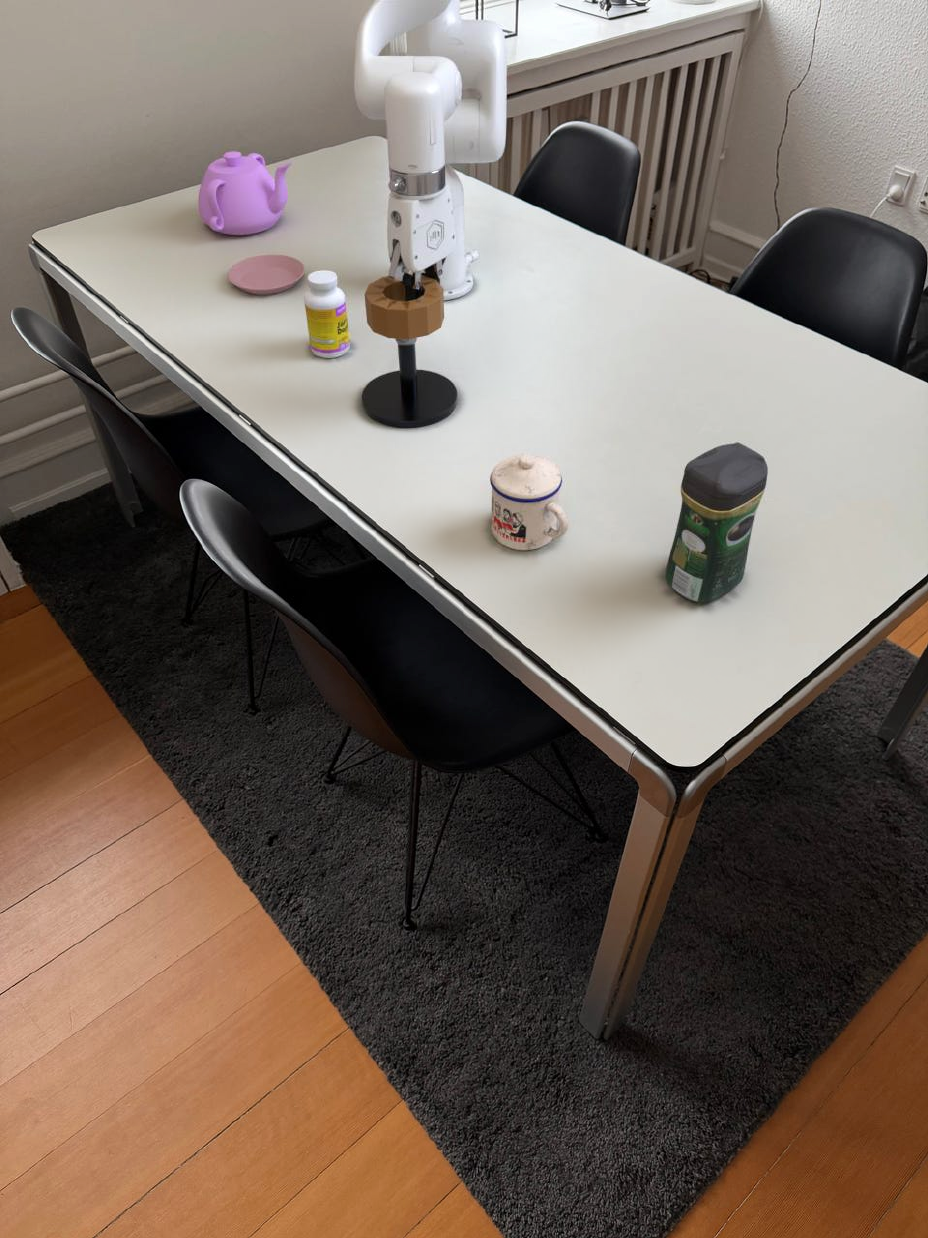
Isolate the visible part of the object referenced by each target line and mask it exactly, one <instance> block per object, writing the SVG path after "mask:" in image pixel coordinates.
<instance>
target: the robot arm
mask: <svg viewBox="0 0 928 1238" xmlns="http://www.w3.org/2000/svg"><path fill="white" fill-rule="evenodd" d="M460 6H461V1H460V0H374V1H373V2H372V3H371V4H370V6H369V7H368V9H367V10H366V12H365V14H364V16H363V18H362V19H361V21H360V24H359V26H358V29H357V33H356V38H355V47H354V50H355V51H354V52H355V53H354V69H353V88H354V89H353V90H354V99H355V103H356V105H357V109H358V110H359V112H360V113H361V114H362V115H363V116H364V117H366V118H368V119H370V120H373V121H374V120H375V121H385V128H386V141H387V142H386V143H387V159H388V172H389V174H388V175H389V182H388V184H387V185H388V186H387V187H388V189H389V191H390V193H389V194H388V195H389V196H388V202H387V203H388V204H387V217H386V218H387V220H386V221H387V222H386V223H387V224H386V228H387V229H386V230H387V231H386V234H387V235H386V240H387V253H388V259H389V262H390V266H389V269H388V274H387V276H388V277H389V278H391V279H394V280H397V281H400V282H401V284H403V285H405V301H406V302H407V301H412V300H416V299H418V298H420V297H421V296H423V295H424V288H423V287H420V286H421V275H423V276H426V277H429V278H432V279H434V280H436V281H437V282H438V283H439V284H440V285H441V287H442V288H443V291H444V301H451V300H454V299H458V298H460V297H463V296H465V295H467V294H468V293H470V291H471V290H472V289H473V287H474V277H473V275H472V273H470V272H469V271H468V268H469V266H471V265H470V264H472V263H474V262H476V261H478V260H479V258H480V255H479V254H480V253H479V252H478V251H477V249H472V250H470V251H468V252H467V253H466V254H465V195H464V194H465V192H464V186H463V183H462V180H461V178H460V176H459V175H458V174H457V172H456V170H455V169H454V168H453V167H452V165H451V164H488V163H489V164H490V163H495V162H497V161H499V160H500V159H501V158H502V156H503V154H504V152H505V148H506V143H507V142H506V140H507V100H508V99H507V98H508V97H507V91H508V90H507V89H508V88H507V87H508V84H507V83H508V79H507V78H508V60H507V58H508V57H507V56H508V55H507V54H508V53H507V43H506V38H505V33H504V31H503V29H502V28H501V26H500V24H498V23H497V22H496V21H493V20H490V19H463V18H462V16H461V10H460V9H461V7H460ZM403 34H406V53H407V54H406V55H380V53H381V52H382V50H383V49H384V48H385V47H386V46H387V45H388V44H389V43H390V42H391V41H393V40H394V39H396V38H397V37H400V36H402V35H403ZM463 89H465V90H466V89H467V90H469V89H470V90H475V92H477V93H478V94H479V98H475V97H474V98H471V97H469V98H468V97H467V98H462V96H463V95H462V94H463ZM410 274H413V277H412V276H411V275H410Z"/></svg>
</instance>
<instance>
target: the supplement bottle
mask: <svg viewBox="0 0 928 1238" xmlns="http://www.w3.org/2000/svg"><path fill="white" fill-rule="evenodd" d="M307 285H308V287H309V289H308V290H307V291H306V292H305V294H304V296H303V301H304V308H305V314H306V315H305V316H306V323H307V330H308V338H309V346H310V350H311V353H313V354H314V355H315V356H317V357H320V358H325V359H334V358H338V357H342V356H343V355H345V354H347V352H349V350H350V347H351V341H350V330H349V321H348V312H347V303H346V302H347V301H346V295H345V292H344V291H343V289H341V288H340V287H339V286H338V275H337V274H336V273H335V272H334V271H332V270H327V269H326V270H325V269H324V270H323V269H321V270H315V271H312V272H311V273H309V274H308V275H307Z"/></svg>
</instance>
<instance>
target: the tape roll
mask: <svg viewBox="0 0 928 1238" xmlns="http://www.w3.org/2000/svg"><path fill="white" fill-rule="evenodd" d="M409 274H410V273H409ZM410 275H411V276H412V277H413V274H410ZM420 287H423V288H424V295H423V296H421V297H420V298H418V299H416V300H412V301H407V302H406V301H405V285H403V284H401V282H400V281H397V280H394V279H391V278H389V277H388V275H386V276H382V277H380V278H378V279H376V280H374V281H373V282H371V283H368V285H367V288H366V290H365V292H364V305H365V314H366V316H365V317H366V323H367V325H368V327H369V328H370V330H371V331H372V332H373V333H374V334H377V335H380V336H382V337H385V338H387V339H395V340H396V339H413V338H417V339H418V338H423V337H427V336H429V335H431V334H433V333H434V332H436V331H438V330H440V328H442V326H443V322H444V320H445V300H444V291H443V288H442V287H441V285H440V284H439V283H438V282H437V281H436V280H434V279H432V278H429V277H426V276H423V275H421V286H420Z"/></svg>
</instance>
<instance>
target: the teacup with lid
mask: <svg viewBox="0 0 928 1238" xmlns="http://www.w3.org/2000/svg"><path fill="white" fill-rule="evenodd" d="M489 482H490V485H491V533H492V535H493V537H494V538H495V540H496V541H497V542H498V543H500V544H501V545H503V546H504V547H506V548H509V549H511V550H517V551H518V550H519V551H532V550H537V549H541V548H542V547H544V546H546V545H548V544H549V543H551V541H552V540H553V539H559V538H561V537H563V536H564V535H565V534H566V533H567V531H568V529H569V518H568V516H567V513H566V512H565V510H564V509H563V508H562V507H561V506H560V505H559V501H560V499H559V498H560V489H561V487H562V483H563V477H562V474H561V472H560V470H559V468H558V466H556V465H555V464H554V463H553V462H552V461H550V460H548V459H546V458H544V457H541V456H537V455H532V454H519V455H512V456H509V457H507V458H505V459H503V460H501V461H499V463H497V464H496V465H495V466H494V468H493V469H492V471H491V474H490V476H489ZM557 523H558V524H559V525H557ZM557 526H559V527H558V530H557Z"/></svg>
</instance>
